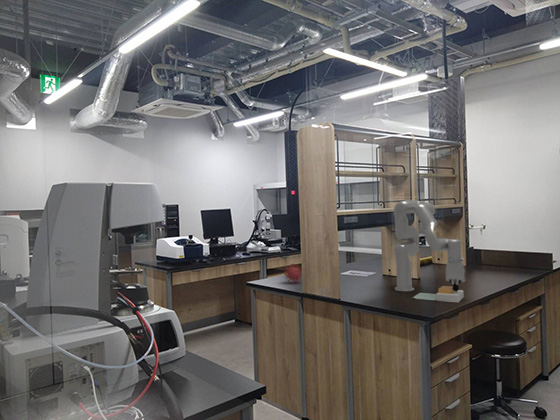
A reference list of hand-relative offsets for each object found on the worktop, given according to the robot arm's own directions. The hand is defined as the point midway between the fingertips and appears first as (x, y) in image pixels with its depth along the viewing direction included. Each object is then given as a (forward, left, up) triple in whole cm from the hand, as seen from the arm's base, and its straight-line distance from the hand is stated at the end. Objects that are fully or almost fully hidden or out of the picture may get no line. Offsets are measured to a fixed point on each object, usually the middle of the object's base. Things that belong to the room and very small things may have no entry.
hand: (455, 291), depth 245 cm
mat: (0, -17, -5) cm, 17 cm away
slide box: (0, -5, 0) cm, 5 cm away
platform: (0, -3, -5) cm, 6 cm away
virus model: (-7, -117, -5) cm, 118 cm away
